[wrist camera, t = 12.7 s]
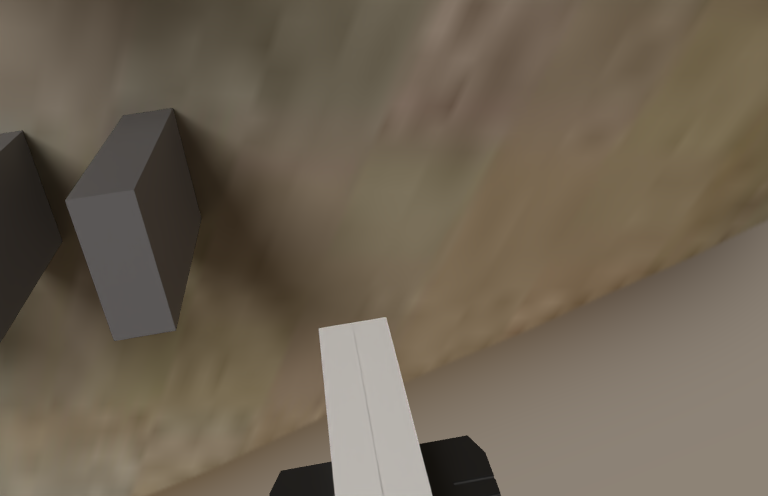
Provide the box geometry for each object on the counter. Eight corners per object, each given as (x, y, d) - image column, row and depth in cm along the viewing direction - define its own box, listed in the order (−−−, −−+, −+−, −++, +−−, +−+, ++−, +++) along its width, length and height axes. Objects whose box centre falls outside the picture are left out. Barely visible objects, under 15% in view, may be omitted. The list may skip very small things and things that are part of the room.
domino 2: (123, 115, 29) (65, 200, 21) (173, 107, 29) (133, 189, 21) (155, 226, 31) (114, 341, 23) (201, 218, 31) (176, 330, 23)
